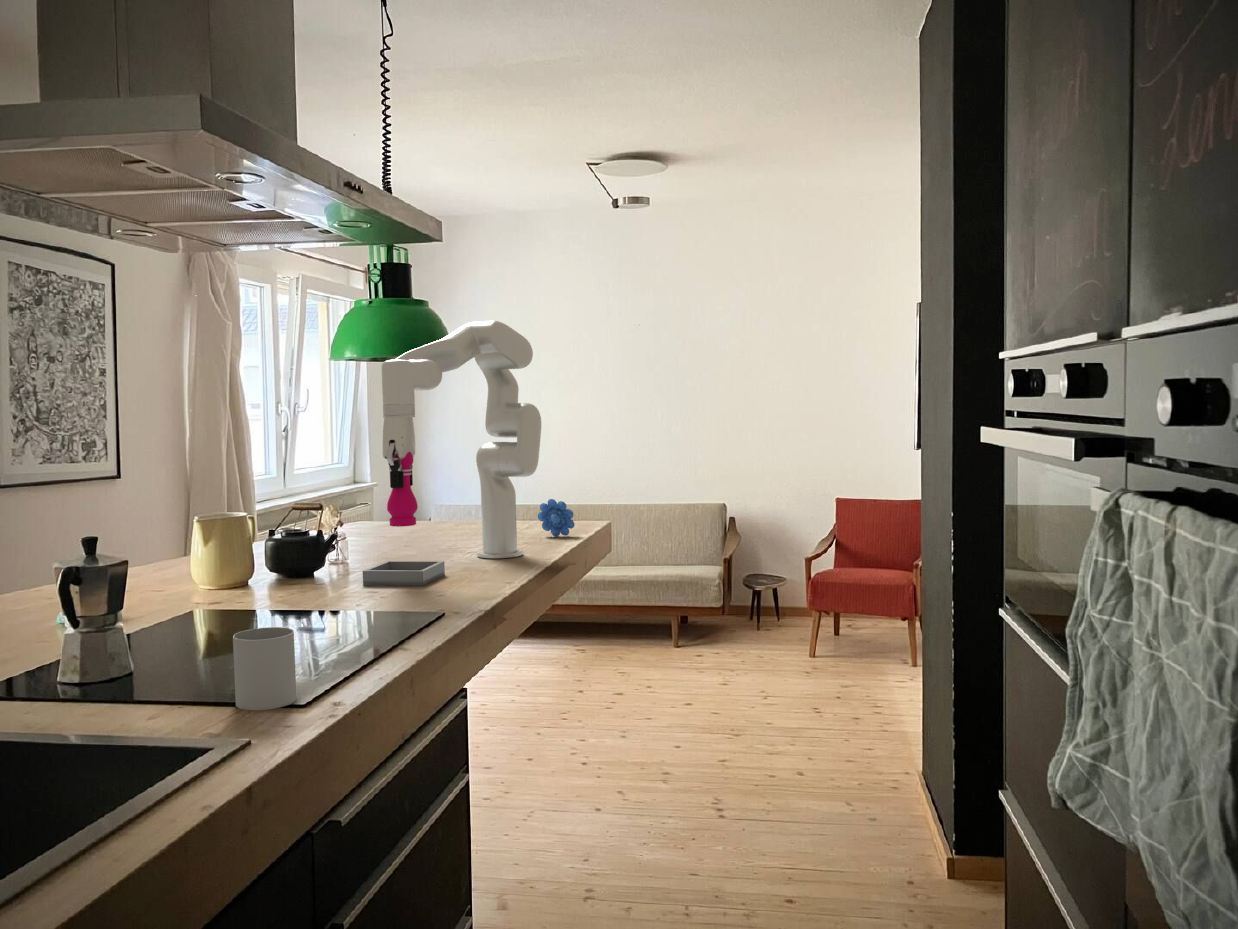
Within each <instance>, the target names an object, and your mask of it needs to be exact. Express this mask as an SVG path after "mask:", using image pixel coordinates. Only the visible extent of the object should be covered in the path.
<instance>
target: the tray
mask: <svg viewBox="0 0 1238 929" xmlns="http://www.w3.org/2000/svg"><path fill="white" fill-rule="evenodd" d="M445 568H446V567H445V560H439V561H438V560H386V561H384V562H381V563H378V564H376V565H374V566H372V567H368V568H367V569H364V570H362V586H366V587H367V586H368V587H369V586H373V587H374V586H375V587H376V586H378V587H379V586H380V587H381V586H382V587H383V586H385V587H392V586H393V587H425V586H427V585H428V584H430V583H432V582H434V581H437V580H438V579H441V578H442V577H444V576H446V574H445V573H446V572H445Z"/></svg>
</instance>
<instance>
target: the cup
mask: <svg viewBox="0 0 1238 929" xmlns="http://www.w3.org/2000/svg"><path fill="white" fill-rule="evenodd" d="M232 645H233V647H232V648H233V649H232V650H233V671H234V672H233V673H234V674H233V675H234V691H235V692H234V694H235V707H237V708H238V709H240V710H244V711H267V710H273V709H278V708H279V709H280V708H283V707H286V706H289V705H292V704H293V703H295V702H296V701H297V676H296V673H297V672H296V654H295V651H296V650H295V632H294V629H292V628H289V627H278V626H276V627H275V626H273V627H269V626H268V627H259V628H251V629H247V630H242V631H239V632H237V633H234V634H233V636H232Z"/></svg>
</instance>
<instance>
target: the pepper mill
mask: <svg viewBox="0 0 1238 929" xmlns="http://www.w3.org/2000/svg"><path fill="white" fill-rule="evenodd" d="M394 458H399V456H394ZM397 463H398V461H397ZM413 464H414V457H413V455H412V453H411V452H408V453H407V454H406V457H405V458H403V459H402V471H403V475H404V487H403V488H391V492H390V495H389V497H388V500H387V504H386V506H387V507H386V509H387V513H389V515H391V517H389V526H391V527H398V528H399V527H401V528H402V527H411V526H415V525H417V517H416V516H415V513H416V512H417V510H418V507H419V506H418V501H417V499H416V498H417V497H415V494H414V492H413V489H412V486H410V475H411V474H412V475H413V468H412V469H410V467H411V465H412V466H413ZM411 471H412V473H411Z"/></svg>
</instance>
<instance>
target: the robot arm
mask: <svg viewBox="0 0 1238 929" xmlns="http://www.w3.org/2000/svg"><path fill="white" fill-rule="evenodd" d="M533 356H534V352H533V348H532V345H531V343H530V342H529V340H528V339H527V338H526V337H525V336H524V335H522V334H521V333H519V332H518V331H517V330H515V329H513V328H512V327H511V326H509V325H507V324H505V323H503V322H501V321H499V320H484V321H483V320H482V321H471V322H468V323H465V324H463V325H461V326H460V327H458V328H456V329H455V330H453V331H452V332H451V333H449V334H447V335H446V336H444V337H443V338H441V339H439V340H438V339H437V340H436V341H433V342H430V343H428V344H424V345H422V346H419V347H417V348H414V349H411V350H409V351H407V352H404V353H403V354H401V355H399V356H398V357H396V358H395V359H388V360H385V361H383V362H382V363H381V389H382V414H383V416H382V417H383V428H382V457H383V458H384V459H385V460H386V461H387V463H388V466H389V467H388V471H389V481H390V484H389V485H390V488H391V489H392V488H403V487H404V475H403V471H402V459H403V458H405V457H406V454H407V453H408V452H411V453H412V455H413V458H414V457H415V454H416V436H415V425H414V418H415V417H416V404H415V402H416V401H415V398H416V397H415V391H429V390H433V389H436V388H437V387H439V386H440V384H441V382H442V379H443V373H446V372H450V371H454V370H458V369H459V368H461V367H462V366H463V365H465V364H466V363H467V362H469V361H471V360H472V359H473V358H474V359H475V360H474V361H475V362H476V364H477V365H478V367H479V369H480V371H482V373H483V376H484V377H485V380H486V383H487V384H486V385H487V400H486V408H485V410H486V411H485V431H486V433H487V434H488V435H490V436H491V437H494V438H507V439H508V438H511V439H512V438H516V441H492V442H487V443H484V444H482V445H481V446H480V447H479V448H478V450H477V452H476V455H475V459H476V466H477V473H478V477H479V483H480V502H481V503H480V505H481V507H480V508H481V533H482V534H481V536H482V541H481V542H482V550H481V549H480V550H479V551H477V553H476V554H477V557H478V558H481V559H510V558H516V557H521V556H522V555H523V554H524V552H523V551H524V550H522V549H520V548H518V542H517V541H518V537H517V536H518V534H517V531H518V530H517V505H516V504H517V503H516V502H517V501H516V500H517V499H516V498H517V496H516V490H515V486H514V484H513V483H512V480H511V479H510V478H509V477H512V478H513V477H515V478H517V477H518V478H519V477H520V478H525V477H526V478H527V477H530V476H532V475H533V474H534V473H535V472H536V471H537V468H538V465H539V458H540V446H541V435H542V417H541V413H540V411H539V408H537V406H535V405H534V404H533V403H529V402H519V390H520V388H519V385H518V381H517V379H516V377H515V376H514V375H513V373H512V372H511V370H520V369H524V368H526V367H528V366H530V364H531V363H532V361H533ZM394 456H399V458H394ZM397 461H398V463H397ZM410 469H412V471H411V473H412V474H411V475H410V486H411V487H412V486H413V485H414V484H413V483H414V482H413V478H414V477H413V464H412V465H411V467H410Z"/></svg>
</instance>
